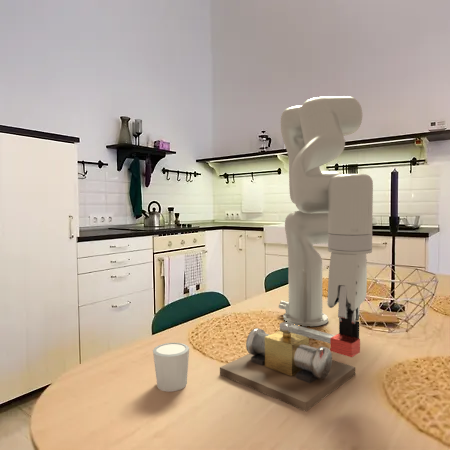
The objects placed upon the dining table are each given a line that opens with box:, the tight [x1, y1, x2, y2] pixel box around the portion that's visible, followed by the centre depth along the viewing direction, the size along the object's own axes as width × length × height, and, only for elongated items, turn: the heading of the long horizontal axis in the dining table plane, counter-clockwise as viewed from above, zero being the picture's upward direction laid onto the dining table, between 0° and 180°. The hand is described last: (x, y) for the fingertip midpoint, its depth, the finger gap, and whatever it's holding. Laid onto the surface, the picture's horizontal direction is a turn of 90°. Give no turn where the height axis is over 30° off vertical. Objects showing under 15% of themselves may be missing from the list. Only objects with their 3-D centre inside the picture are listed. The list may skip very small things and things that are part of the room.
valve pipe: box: [245, 327, 333, 383], centre depth 76 cm, size 17×6×7 cm, turn 46°
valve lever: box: [279, 321, 361, 358], centre depth 71 cm, size 3×16×2 cm, turn 45°
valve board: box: [219, 353, 356, 412], centre depth 77 cm, size 20×18×2 cm
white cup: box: [152, 342, 190, 393], centre depth 73 cm, size 7×7×7 cm
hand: (349, 342), depth 70 cm, fingers closed
